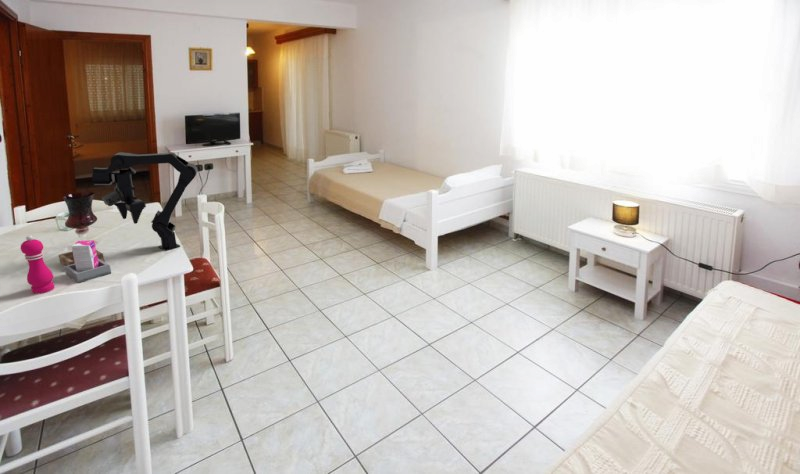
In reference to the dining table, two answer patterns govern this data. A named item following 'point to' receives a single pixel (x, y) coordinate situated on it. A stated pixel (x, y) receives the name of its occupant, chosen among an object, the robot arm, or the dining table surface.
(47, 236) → the dining table surface
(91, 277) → the tray
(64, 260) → the holder
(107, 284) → the dining table surface
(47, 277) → the pepper mill
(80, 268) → the supplement box
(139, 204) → the robot arm
